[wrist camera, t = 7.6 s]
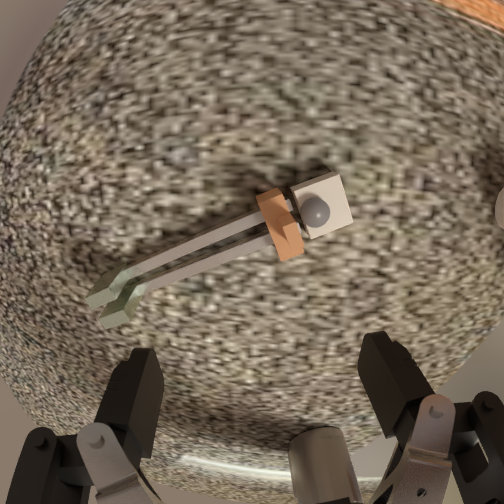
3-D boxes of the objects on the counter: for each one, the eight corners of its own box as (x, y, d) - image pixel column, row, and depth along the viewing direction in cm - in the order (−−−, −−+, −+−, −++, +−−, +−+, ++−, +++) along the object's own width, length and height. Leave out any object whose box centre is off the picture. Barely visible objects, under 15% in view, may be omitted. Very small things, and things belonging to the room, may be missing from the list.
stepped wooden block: (277, 187, 24) (288, 200, 20) (297, 240, 26) (311, 264, 22) (255, 196, 25) (260, 211, 20) (276, 248, 27) (286, 274, 22)
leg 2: (295, 218, 26) (308, 237, 21) (300, 231, 26) (313, 253, 21) (115, 290, 27) (97, 318, 23) (121, 300, 28) (105, 329, 23)
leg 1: (285, 192, 25) (297, 206, 20) (290, 206, 25) (303, 223, 21) (104, 273, 27) (84, 298, 22) (111, 283, 27) (92, 310, 22)
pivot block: (332, 171, 24) (341, 175, 22) (346, 216, 26) (355, 224, 24) (287, 188, 25) (293, 193, 22) (304, 233, 26) (310, 242, 24)
